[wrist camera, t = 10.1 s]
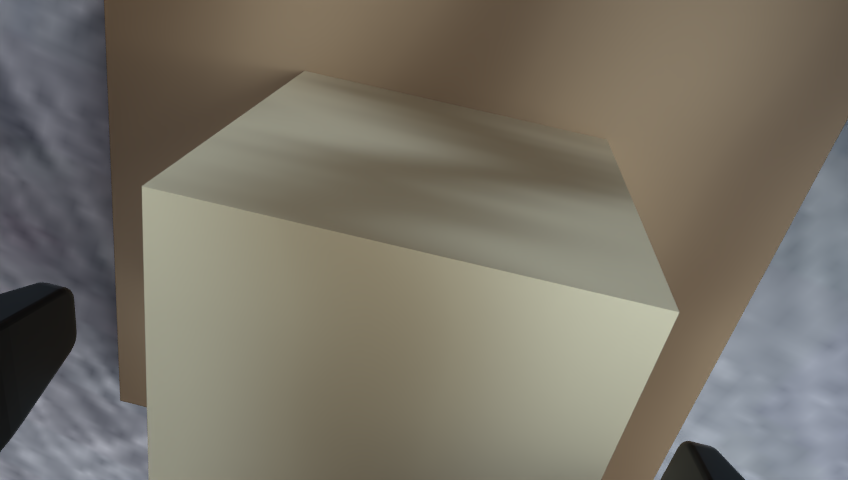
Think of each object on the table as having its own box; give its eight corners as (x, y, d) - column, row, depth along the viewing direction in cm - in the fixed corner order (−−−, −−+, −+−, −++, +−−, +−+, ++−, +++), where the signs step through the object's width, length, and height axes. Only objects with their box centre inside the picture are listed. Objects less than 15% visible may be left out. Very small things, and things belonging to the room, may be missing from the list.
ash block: (607, 140, 12) (679, 312, 7) (524, 377, 15) (529, 631, 10) (304, 70, 12) (141, 186, 7) (279, 318, 15) (150, 536, 10)
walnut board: (882, -42, 11) (931, -38, 10) (619, 482, 18) (627, 527, 17) (142, -210, 12) (94, -226, 10) (149, 365, 18) (120, 400, 17)
